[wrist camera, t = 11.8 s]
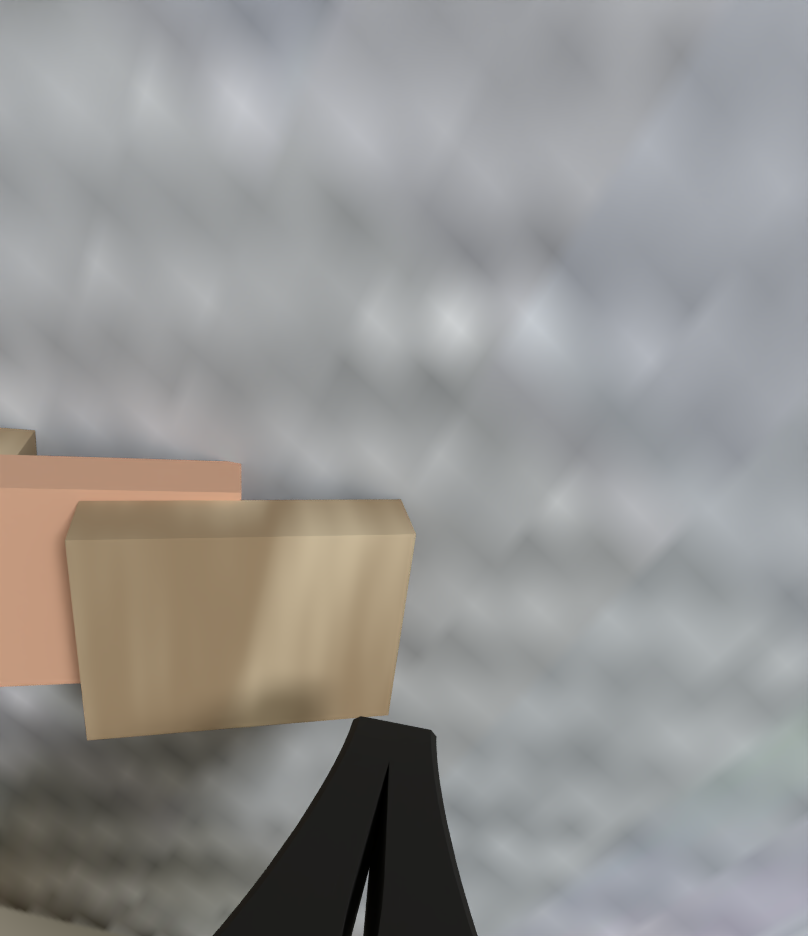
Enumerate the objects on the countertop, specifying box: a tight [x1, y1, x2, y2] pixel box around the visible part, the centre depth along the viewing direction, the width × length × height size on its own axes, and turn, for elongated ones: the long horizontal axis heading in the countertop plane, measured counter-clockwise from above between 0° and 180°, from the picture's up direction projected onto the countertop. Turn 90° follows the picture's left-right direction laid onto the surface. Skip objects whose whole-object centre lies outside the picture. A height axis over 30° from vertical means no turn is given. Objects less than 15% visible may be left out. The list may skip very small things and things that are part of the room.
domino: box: [0, 454, 241, 687], centre depth 15 cm, size 1×5×6 cm
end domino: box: [65, 499, 416, 740], centre depth 15 cm, size 1×5×6 cm
